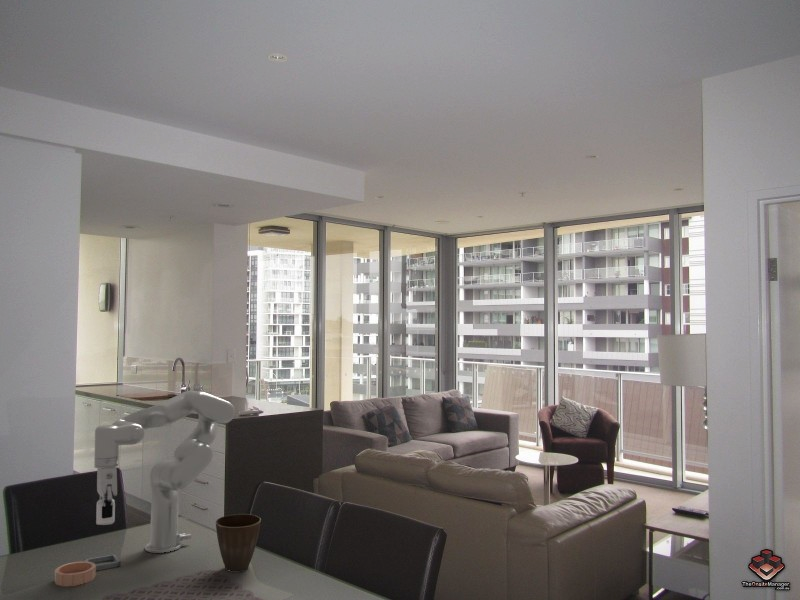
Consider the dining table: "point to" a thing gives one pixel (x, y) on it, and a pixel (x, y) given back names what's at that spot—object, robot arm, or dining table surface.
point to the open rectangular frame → (105, 558)
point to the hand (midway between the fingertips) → (105, 515)
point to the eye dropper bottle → (99, 513)
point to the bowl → (75, 573)
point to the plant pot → (237, 539)
